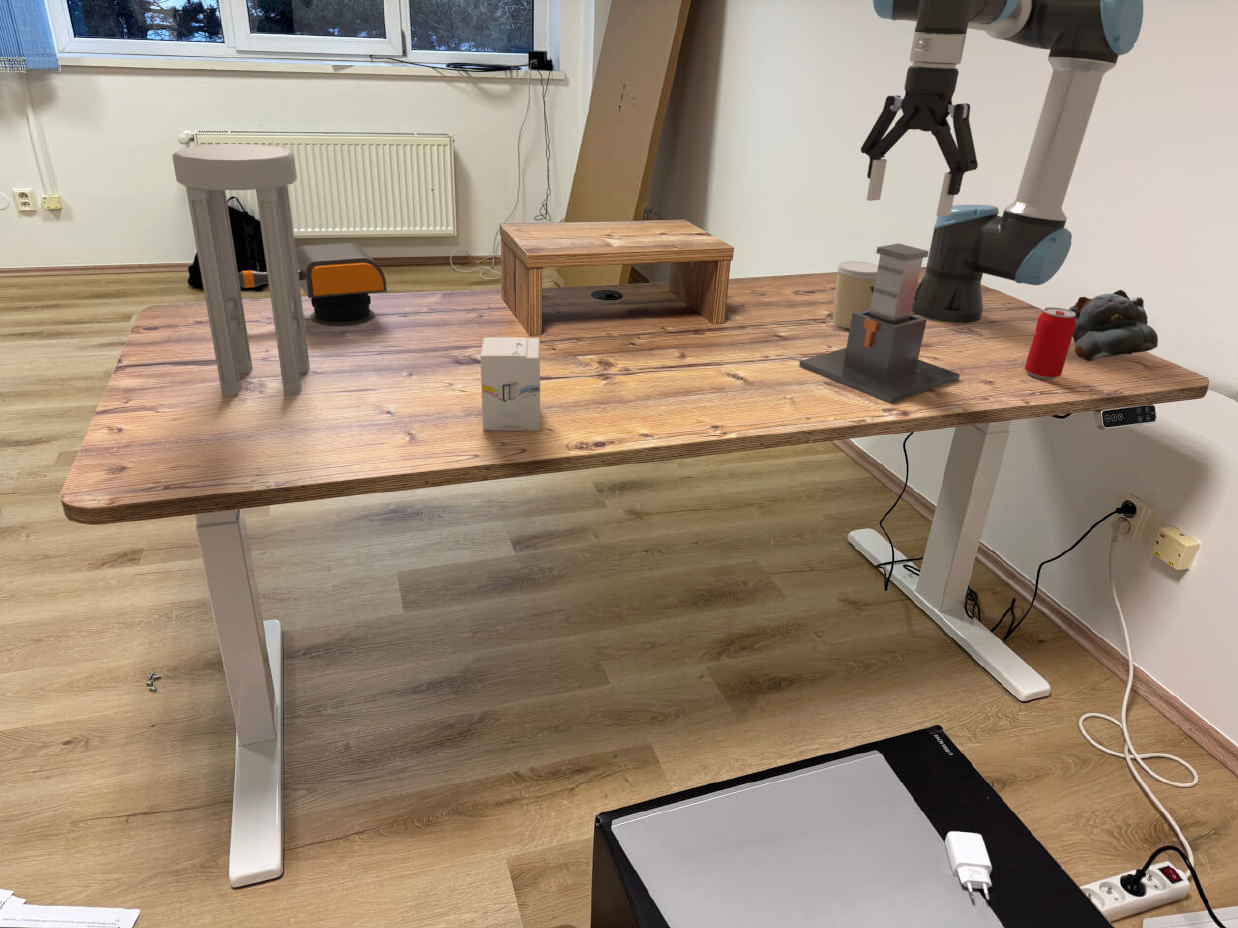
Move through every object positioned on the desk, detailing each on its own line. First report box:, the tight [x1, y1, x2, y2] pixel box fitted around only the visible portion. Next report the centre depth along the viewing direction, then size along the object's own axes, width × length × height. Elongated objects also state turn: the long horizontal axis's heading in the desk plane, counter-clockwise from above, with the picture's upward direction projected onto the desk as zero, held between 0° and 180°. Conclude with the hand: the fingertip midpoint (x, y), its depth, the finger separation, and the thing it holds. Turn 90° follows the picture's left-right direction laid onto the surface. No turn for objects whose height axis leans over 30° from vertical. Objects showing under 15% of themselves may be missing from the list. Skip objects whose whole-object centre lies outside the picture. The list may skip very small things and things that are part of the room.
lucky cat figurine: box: [1067, 289, 1159, 362], centre depth 169 cm, size 15×12×14 cm
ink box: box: [480, 336, 541, 431], centre depth 128 cm, size 9×8×12 cm
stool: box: [172, 143, 311, 397], centre depth 131 cm, size 16×16×35 cm
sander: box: [238, 242, 388, 328], centre depth 164 cm, size 15×25×13 cm, turn 117°
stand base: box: [798, 309, 961, 404], centre depth 154 cm, size 20×20×10 cm
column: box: [869, 242, 930, 325], centre depth 151 cm, size 6×6×21 cm
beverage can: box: [1024, 306, 1076, 380], centre depth 157 cm, size 6×6×12 cm
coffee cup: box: [832, 260, 878, 330], centre depth 178 cm, size 9×9×12 cm
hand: (907, 207), depth 143 cm, fingers open, 13 cm apart
